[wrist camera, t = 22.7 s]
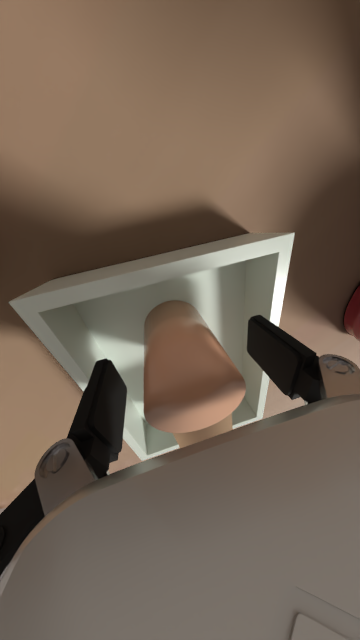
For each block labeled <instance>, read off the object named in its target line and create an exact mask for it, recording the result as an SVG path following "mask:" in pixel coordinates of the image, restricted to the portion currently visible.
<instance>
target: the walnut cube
mask: <svg viewBox="0 0 360 640" xmlns="http://www.w3.org/2000/svg"><path fill="white" fill-rule="evenodd" d="M231 430H233V427H232V413H231V414H230V415H228V416H227V417H226V418H224V419H223V420H221V421H219V422H217V423H215V424H213V425H211V426H209V427H206V428H203V429H200V430H197V431H192V432H186V433H173V435H174V437H175V439H176V441H177V443H178V445H179V447H180V448H183V447H186V446H188V445H191V444H194V443H197V442H200V441H203V440H205V439H208V438H211V437H214V436H217V435H220V434H223V433H225V432H228V431H231Z"/></svg>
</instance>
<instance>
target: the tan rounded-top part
mask: <svg viewBox="0 0 360 640" xmlns="http://www.w3.org/2000/svg"><path fill="white" fill-rule="evenodd" d="M245 392H246V383H245V380H244V378H243V377H242V375H241V374H240V372H239V371H238V369H237V368H236V366H235V365H234V363H233V362H232V360H231V359H230V357H229V356H228V355H227V353H226V352H225V350H224V349H223V347H222V346H221V344H220V343H219V341H218V340H217V338H216V337H215V336H214V334H213V333H212V331H211V330H210V328H209V327H208V325H207V324H206V322H205V321H204V319H203V318H202V316H201V315H200V314H199V312H198V311H197V309H196V308H195V307H194V306H192V305H191V304H189V303H187V302H184V301H180V300H171V301H166V302H163V303H161V304H159V305H157V306H156V307H154V308H153V309H152V310H151V311H150V312H149V314H148V315H147V317H146V319H145V323H144V417H145V419H146V421H147V422H148V423H149V424H150V425H151V426H152V427H154V428H156V429H158V430H160V431H164V432H169V433H186V432H192V431H197V430H200V429H203V428H206V427H209V426H211V425H213V424H215V423H217V422H219V421H221V420H223V419H224V418H226V417H227V416H228V415H230V414H231V413H232V412H233V411H234V410H235V409H236V408H237V407H238V406H239V404H240V403H241V401H242V400H243V398H244V395H245Z"/></svg>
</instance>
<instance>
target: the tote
mask: <svg viewBox="0 0 360 640" xmlns="http://www.w3.org/2000/svg"><path fill="white" fill-rule="evenodd" d="M294 235H295V233H248V234H244V235H239V236H235V237H231V238H227V239H222V240H218V241H214V242H210V243H205V244H201V245H197V246H193V247H188V248H184V249H180V250H176V251H171V252H167V253H163V254H159V255H154V256H150V257H146V258H142V259H137V260H133V261H129V262H125V263H120V264H116V265H112V266H108V267H103V268H99V269H95V270H91V271H86V272H82V273H78V274H74V275H69V276H65V277H61V278H57V279H52V280H50V281H48V282H46V283H44V284H42V285H40V286H38V287H36V288H34V289H33V290H31V291H29V292H27V293H25V294H23V295H21V296H19V297H17V298H15V299H13V300H11V301H9V302H8V303H9V304H10V305H11V306H12V307H13V309H14V310H15V311H16V312H17V313H18V315H19V316H20V317H21V318H22V319H23V320H24V322H25V323H26V324H27V325H28V326H29V328H30V329H31V330H32V331H33V332H34V333H35V335H36V336H37V337H38V338H39V339H40V341H41V342H42V343H43V344H44V345H45V347H46V348H47V349H48V350H49V351H50V352H51V354H52V355H53V356H54V357H55V358H56V360H57V361H58V362H59V363H60V364H61V365H62V367H63V368H64V369H65V370H66V371H67V373H68V374H69V375H70V376H71V377H72V378H73V380H74V381H75V382H76V383H77V384H78V386H79V387H80V388H81V389H82V390H83V391H84V390H85V388H86V387H87V385H88V382H89V379H90V377H91V374H92V371H93V368H94V365H95V363H96V361H98V360H102V359H105V358H107V359H108V360H111V361H112V362H113V364H114V366H115V368H116V369H117V371H118V373H119V374H120V376H121V378H122V379H123V381H124V383H125V385H126V387H127V399H126V409H125V420H124V430H123V439H124V440H125V441H126V442H127V444H128V445H129V446H130V447H131V448H132V449H133V451H134V452H135V453H136V454H137V455H138V457H139V458H140V459H141V460H142V461H143V460H146V459H148V458H151V457H154V456H157V455H160V454H163V453H165V452H168V451H171V450H174V449H177V448H180V447H179V445H178V443H177V441H176V439H175V437H174V435H173V433H169V432H164V431H160V430H158V429H156V428H154V427H152V426H151V425H150V424H149V423H148V422H147V421H146V419H145V417H144V323H145V319H146V317H147V315H148V314H149V312H150V311H151V310H152V309H153V308H154V307H156V306H157V305H159V304H161V303H163V302H166V301H171V300H180V301H184V302H187V303H189V304H191V305H192V306H194V307H195V308H196V309H197V311H198V312H199V314H200V315H201V316H202V318H203V319H204V321H205V322H206V324H207V325H208V327H209V328H210V330H211V331H212V333H213V334H214V336H215V337H216V338H217V340H218V341H219V343H220V344H221V346H222V347H223V349H224V350H225V352H226V353H227V355H228V356H229V357H230V359H231V360H232V362H233V363H234V365H235V366H236V368H237V369H238V371H239V372H240V374H241V375H242V377H243V378H244V380H245V383H246V392H245V395H244V398H243V400H242V401H241V403H240V404H239V406H238V407H237V408H236V409H235V410H234V411H233V412H232V427H233V429H234V428H237V427H239V426H242V425H245V424H248V423H251V422H254V421H256V420H259V419H262V418H263V412H264V406H265V401H266V395H267V389H268V384H269V376H268V375H267V374H266V373H265V372H264V371H263V370H262V369H261V367H260V366H259V365H258V364H257V363H256V362H255V361H254V359H253V358H252V357H251V356H250V355H249V354H248V352H247V333H248V320H250V317H252V316H256V315H262V316H263V317H264V318H266V319H267V320H269V321H270V322H272V323H273V324H275V325H276V326H277V327H278V326H279V321H280V315H281V309H282V304H283V298H284V292H285V286H286V281H287V275H288V269H289V264H290V258H291V252H292V246H293V241H294Z"/></svg>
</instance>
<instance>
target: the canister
mask: <svg viewBox="0 0 360 640" xmlns="http://www.w3.org/2000/svg"><path fill="white" fill-rule="evenodd" d="M344 327H345V329H346V331H347V332H348V333H349V334H351V335H352V336H354V337H355V338H356V339H357V340H358V341H360V285H359V287H358V288H357V289H356V291H355V293H354V294H353V296H352V298H351V300H350V302H349V304H348V306H347V309H346V312H345V316H344Z"/></svg>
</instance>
